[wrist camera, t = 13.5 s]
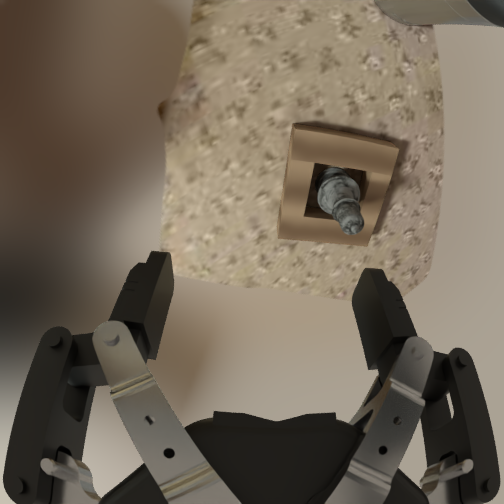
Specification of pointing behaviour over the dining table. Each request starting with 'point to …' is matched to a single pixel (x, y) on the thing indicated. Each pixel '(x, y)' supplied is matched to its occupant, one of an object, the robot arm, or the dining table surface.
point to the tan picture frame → (338, 154)
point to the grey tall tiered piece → (340, 199)
